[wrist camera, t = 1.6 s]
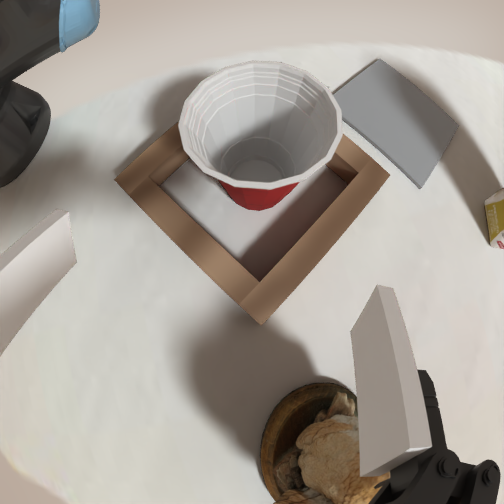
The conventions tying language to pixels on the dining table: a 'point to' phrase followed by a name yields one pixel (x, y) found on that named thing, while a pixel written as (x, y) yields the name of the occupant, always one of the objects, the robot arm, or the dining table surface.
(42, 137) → the robot arm
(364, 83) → the rubber mat
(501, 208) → the juice carton
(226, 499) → the dining table surface
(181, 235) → the square wooden frame
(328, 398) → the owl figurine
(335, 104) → the plastic cup
